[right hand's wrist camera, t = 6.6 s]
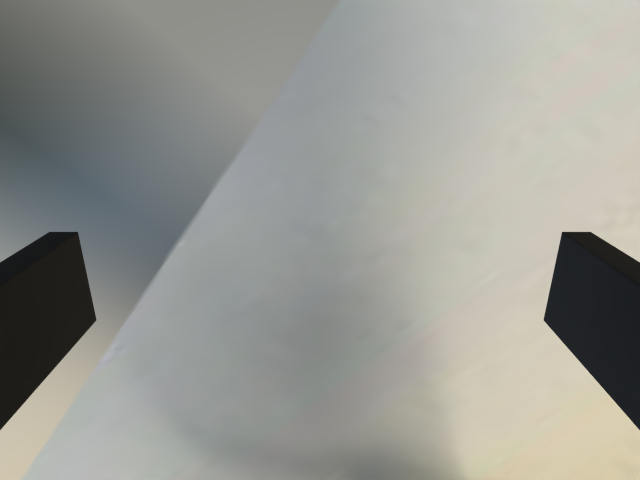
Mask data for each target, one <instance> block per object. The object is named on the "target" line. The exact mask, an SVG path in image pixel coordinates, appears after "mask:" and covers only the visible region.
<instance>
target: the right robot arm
mask: <svg viewBox="0 0 640 480" xmlns="http://www.w3.org/2000/svg"><path fill="white" fill-rule="evenodd" d="M95 321H96V316H95V312H94V307H93V302H92V297H91V292H90V288H89V283H88V278H87V274H86V269H85V264H84V259H83V254H82V250H81V245H80V240H79V235H78V232H49V233H47V234H46V235H44V236H42V237H41V238H39V239H38V240H36V241H34V242H33V243H31V244H29V245H28V246H26V247H25V248H23V249H21V250H20V251H18V252H16V253H15V254H13V255H12V256H10V257H8V258H7V259H5V260H4V261H2V262H0V430H1V429H2V427H3V426H4V425H5V424H6V423H7V422H8V421H9V419H10V418H11V417H12V416H13V415H14V414H15V413H16V411H17V410H18V409H19V408H20V407H21V406H22V404H23V403H24V402H25V401H26V400H27V399H28V398H29V396H30V395H31V394H32V393H33V392H34V391H35V390H36V388H37V387H38V386H39V385H40V384H41V383H42V382H43V381H44V379H45V378H46V377H47V376H48V375H49V374H50V373H51V371H52V370H53V369H54V368H55V367H56V366H57V364H58V363H59V362H60V361H61V360H62V359H63V358H64V356H65V355H66V354H67V353H68V352H69V351H70V350H71V349H72V347H73V346H74V345H75V344H76V343H77V342H78V341H79V339H80V338H81V337H82V336H83V335H84V334H85V332H86V331H87V330H88V329H89V328H90V327H91V326H92V325H93V323H94V322H95ZM544 321H545V322H546V323H547V325H548V326H549V327H550V328H551V329H552V330H553V331H554V333H555V334H556V335H557V336H558V337H559V338H560V339H561V341H562V342H563V343H564V344H565V345H566V346H567V347H568V349H569V350H570V351H571V352H572V353H573V354H574V355H575V357H576V358H577V359H578V360H579V361H580V362H581V363H582V365H583V366H584V367H585V368H586V369H587V370H588V371H589V373H590V374H591V375H592V376H593V377H594V378H595V379H596V381H597V382H598V383H599V384H600V385H601V386H602V387H603V389H604V390H605V391H606V392H607V393H608V394H609V395H610V397H611V398H612V399H613V400H614V401H615V402H616V403H617V405H618V406H619V407H620V408H621V409H622V410H623V411H624V413H625V414H626V415H627V416H628V417H629V418H630V419H631V421H632V422H633V423H634V424H635V425H636V426H637V427H638V429H639V430H640V262H638V261H636V260H635V259H633V258H632V257H630V256H628V255H627V254H625V253H624V252H622V251H620V250H619V249H617V248H615V247H614V246H612V245H611V244H609V243H607V242H606V241H604V240H603V239H601V238H599V237H598V236H596V235H594V234H593V233H591V232H562V235H561V240H560V245H559V250H558V254H557V259H556V264H555V269H554V273H553V278H552V283H551V288H550V292H549V297H548V302H547V307H546V311H545V316H544Z"/></svg>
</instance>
